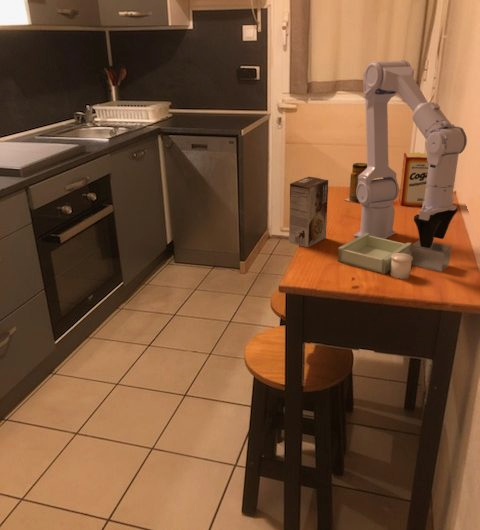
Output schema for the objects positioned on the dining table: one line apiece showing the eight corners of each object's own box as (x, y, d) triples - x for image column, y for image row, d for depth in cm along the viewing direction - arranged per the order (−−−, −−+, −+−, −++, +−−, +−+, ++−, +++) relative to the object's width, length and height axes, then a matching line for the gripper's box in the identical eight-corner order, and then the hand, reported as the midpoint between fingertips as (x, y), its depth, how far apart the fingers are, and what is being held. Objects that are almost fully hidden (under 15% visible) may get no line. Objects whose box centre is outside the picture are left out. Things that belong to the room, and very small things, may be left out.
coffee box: (306, 233, 141) (308, 176, 134) (326, 238, 137) (329, 179, 131) (287, 242, 134) (288, 182, 128) (308, 248, 131) (310, 186, 124)
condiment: (354, 195, 175) (357, 161, 170) (377, 200, 170) (380, 164, 165) (343, 200, 170) (345, 164, 165) (366, 204, 165) (369, 168, 160)
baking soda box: (428, 201, 167) (435, 152, 161) (431, 207, 161) (438, 156, 155) (399, 200, 169) (404, 152, 163) (400, 206, 163) (406, 156, 157)
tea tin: (417, 258, 123) (419, 239, 121) (448, 266, 119) (451, 246, 117) (409, 264, 120) (411, 245, 118) (441, 272, 115) (444, 252, 113)
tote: (364, 245, 131) (365, 232, 130) (410, 257, 124) (411, 243, 122) (337, 261, 122) (338, 247, 120) (384, 274, 114) (386, 260, 113)
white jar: (394, 269, 117) (396, 251, 115) (413, 274, 114) (416, 256, 113) (385, 275, 114) (387, 257, 112) (405, 281, 111) (407, 262, 109)
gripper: (445, 194, 104) (437, 255, 109) (470, 180, 114) (461, 237, 119) (412, 188, 108) (406, 248, 114) (439, 176, 118) (431, 231, 124)
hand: (432, 242), depth 117 cm, fingers open, 7 cm apart
